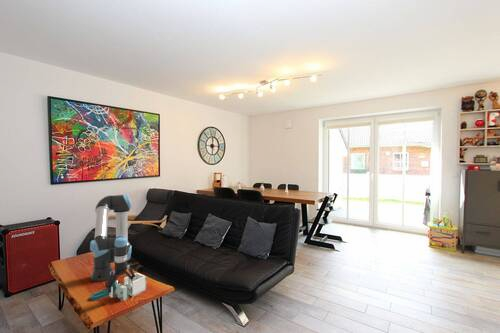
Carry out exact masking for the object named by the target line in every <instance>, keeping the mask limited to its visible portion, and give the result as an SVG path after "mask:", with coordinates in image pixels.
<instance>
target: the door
mask: <svg viewBox="0 0 500 333" xmlns="http://www.w3.org/2000/svg"><path fill="white" fill-rule="evenodd" d="M121 297H122V298H123V301H124V302H125V301H126V300H127V299H128V298H127V287H126V286H124V284H122V283H121V284H117V285H116V298H117V299H120V298H121ZM123 301H122V302H123Z"/></svg>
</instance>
